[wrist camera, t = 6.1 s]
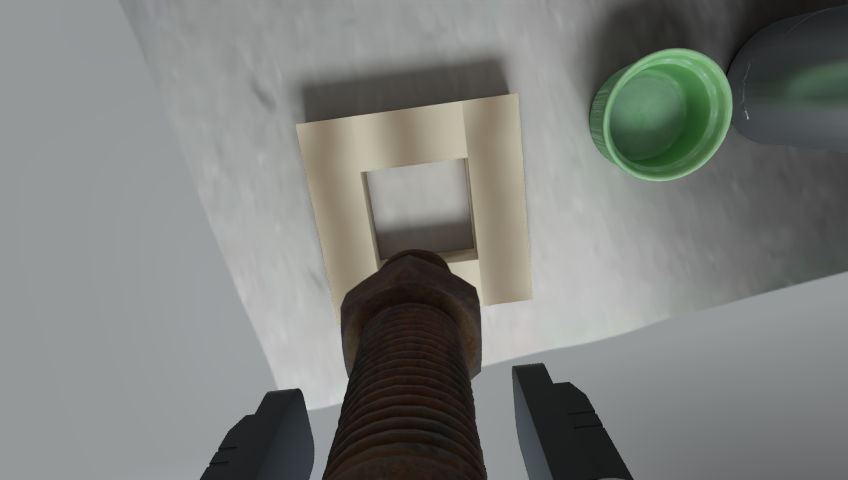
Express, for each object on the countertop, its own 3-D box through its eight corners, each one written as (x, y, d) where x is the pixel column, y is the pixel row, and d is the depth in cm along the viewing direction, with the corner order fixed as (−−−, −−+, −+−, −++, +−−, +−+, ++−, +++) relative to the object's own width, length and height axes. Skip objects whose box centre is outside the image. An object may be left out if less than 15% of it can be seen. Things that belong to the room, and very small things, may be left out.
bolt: (348, 217, 18) (77, 624, 4) (473, 211, 18) (660, 602, 4) (361, 344, 20) (202, 961, 6) (475, 339, 20) (613, 949, 6)
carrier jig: (509, 94, 35) (518, 93, 32) (524, 285, 39) (532, 299, 36) (305, 122, 35) (295, 124, 32) (343, 308, 40) (337, 324, 37)
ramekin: (714, 132, 36) (753, 136, 32) (612, 194, 37) (637, 205, 33) (667, 29, 34) (703, 19, 30) (561, 99, 35) (581, 98, 31)
